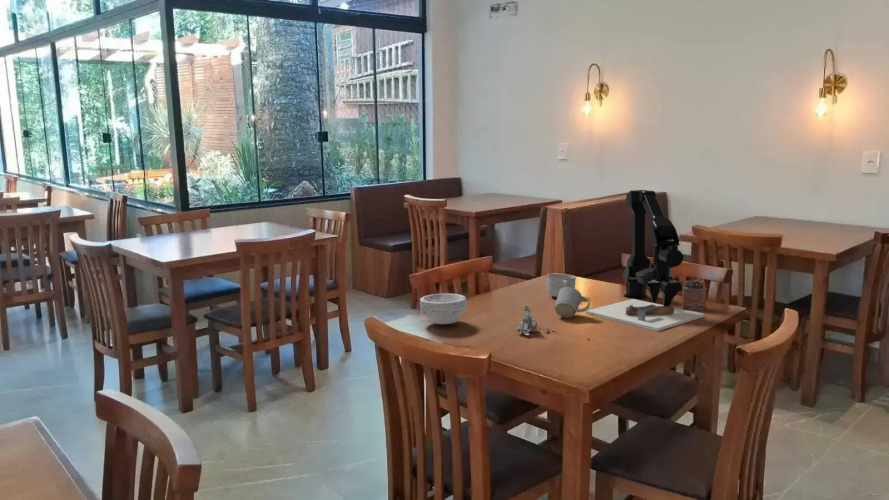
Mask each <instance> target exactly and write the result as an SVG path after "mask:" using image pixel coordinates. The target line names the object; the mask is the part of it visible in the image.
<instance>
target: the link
mask: <svg viewBox="0 0 889 500" xmlns="http://www.w3.org/2000/svg"><path fill="white" fill-rule="evenodd" d="M638 308H642V307H633V305H629V307H626V314H628V315H636V314H638ZM674 308H675V307H674V306H672V305H669V306H656V308H655V309H652V310H648V311H645V314H673V313H674Z"/></svg>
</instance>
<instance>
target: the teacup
mask: <svg viewBox="0 0 889 500" xmlns="http://www.w3.org/2000/svg"><path fill="white" fill-rule="evenodd" d="M576 279H577V277H576V276H575V275H572V274H566V273H549V274H547V275H546V290H547V292H548V293H549V294H550V296H552V297H555V298H557V297H558V294H559V291H560V289H562V288H564V287H571V288H574V289H576Z"/></svg>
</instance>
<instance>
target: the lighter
mask: <svg viewBox="0 0 889 500" xmlns="http://www.w3.org/2000/svg"><path fill="white" fill-rule="evenodd" d="M684 285H686V286H683V290H682V299H681V300H682V302H681V309H683V310H688V311H705V310H706V309H707V306H706V304H707V303H706V301H707V290H708V288H707V287H706V286H704V281H702V280H701V281H700V280H699V281H698V280H696V279H695V280H693V281H692V280H685V281H684ZM704 309H705V310H704Z"/></svg>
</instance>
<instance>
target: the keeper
mask: <svg viewBox="0 0 889 500" xmlns="http://www.w3.org/2000/svg"><path fill="white" fill-rule="evenodd" d="M655 308H656V305H649V306H645V307H642V308H638V320H641V321H643V320H645V311H648V310H652V309H655Z"/></svg>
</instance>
